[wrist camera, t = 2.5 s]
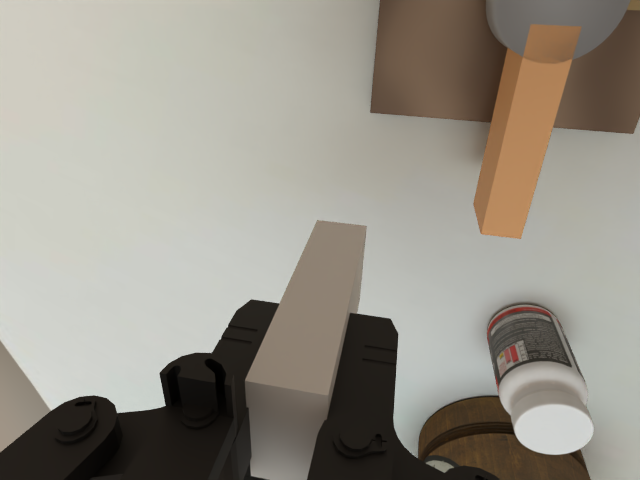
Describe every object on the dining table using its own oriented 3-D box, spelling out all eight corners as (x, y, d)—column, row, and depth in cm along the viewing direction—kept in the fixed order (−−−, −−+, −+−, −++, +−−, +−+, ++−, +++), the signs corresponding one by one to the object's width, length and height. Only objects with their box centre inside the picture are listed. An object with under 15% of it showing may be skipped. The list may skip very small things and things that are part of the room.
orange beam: (498, -67, 21) (513, -79, 17) (615, -64, 20) (655, -77, 17) (447, 200, 27) (451, 230, 24) (534, 210, 27) (551, 242, 23)
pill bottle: (471, 332, 38) (485, 429, 30) (520, 289, 35) (552, 383, 27) (524, 366, 39) (553, 471, 30) (576, 327, 36) (625, 430, 27)
